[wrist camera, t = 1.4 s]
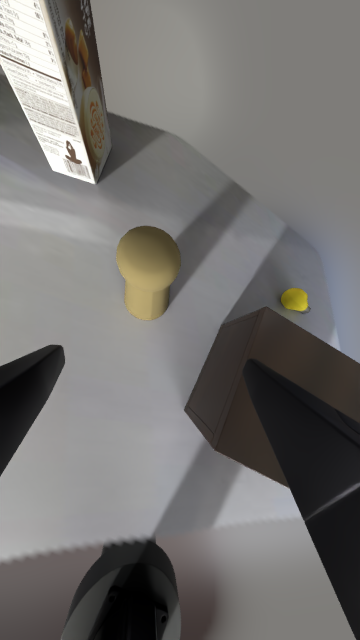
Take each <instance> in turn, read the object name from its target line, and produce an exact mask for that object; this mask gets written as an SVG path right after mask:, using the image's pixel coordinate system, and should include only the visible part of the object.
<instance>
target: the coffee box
mask: <svg viewBox="0 0 360 640" xmlns="http://www.w3.org/2000/svg"><path fill="white" fill-rule="evenodd" d="M0 64H1V66H2V68H3V70H4V72H5V74H6V76H7V78H8V80H9V82H10V84H11V86H12V88H13V90H14V92H15V94H16V96H17V98H18V100H19V102H20V104H21V106H22V109H23V111H24V113H25V115H26V117H27V119H28V121H29V123H30V125H31V127H32V129H33V131H34V133H35V135H36V137H37V139H38V141H39V143H40V145H41V147H42V149H43V151H44V153H45V155H46V157H47V160H48V162H49V164H50V166H51V168H52V169H53V170H54V171H56V172H59V173H62V174H65V175H68V176H71V177H74V178H77V179H80V180H83V181H87V182H90V183H93V184H96V183H97V181H98V179H99V177H100V174H101V172H102V169H103V167H104V165H105V162H106V160H107V157H108V155H109V152H110V150H111V148H112V142H111V136H110V129H109V122H108V116H107V109H106V103H105V96H104V90H103V83H102V77H101V70H100V64H99V57H98V50H97V44H96V38H95V31H94V25H93V17H92V11H91V5H90V0H0Z"/></svg>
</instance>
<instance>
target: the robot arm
mask: <svg viewBox="0 0 360 640" xmlns="http://www.w3.org/2000/svg"><path fill="white" fill-rule="evenodd" d="M64 364H65V356H64V350H63V347H62V346H61V345H48V346H46V347H44V348H41V349H39V350H37V351H35V352H32V353H30V354H28V355H25V356H23V357H21V358H19V359H16V360H14V361H12V362H9V363H7V364H5V365H2V366H0V476H1V474H2V473H3V471H4V470H5V468H6V466H7V465H8V463H9V461H10V460H11V458H12V457H13V455H14V453H15V452H16V450H17V448H18V447H19V445H20V444H21V442H22V440H23V439H24V437H25V435H26V434H27V432H28V431H29V429H30V427H31V426H32V424H33V423H34V421H35V419H36V418H37V416H38V414H39V413H40V411H41V410H42V408H43V406H44V405H45V403H46V401H47V400H48V398H49V396H50V394H51V392H52V390H53V388H54V385H55V383H56V381H57V379H58V377H59V375H60V373H61V371H62V369H63V367H64ZM242 375H243V378H244V381H245V384H246V387H247V390H248V393H249V396H250V399H251V401H252V404H253V406H254V408H255V411H256V413H257V415H258V418H259V420H260V422H261V424H262V427H263V429H264V431H265V433H266V436H267V438H268V440H269V443H270V445H271V447H272V449H273V452H274V454H275V456H276V458H277V461H278V463H279V465H280V468H281V470H282V472H283V474H284V477H285V479H286V481H287V483H288V486H289V488H290V490H291V493H292V495H293V497H294V499H295V502H296V504H297V506H298V508H299V511H300V513H301V515H302V518H303V520H304V521H305V525H306V527H307V529H308V531H309V534H310V536H311V538H312V541H313V543H314V545H315V548H316V550H317V552H318V554H319V557H320V558H321V561H322V563H323V566H324V568H325V570H326V573H327V575H328V577H329V579H330V581H331V584H332V586H333V588H334V591H335V593H336V595H337V598H338V600H339V602H340V604H341V607H342V609H343V611H344V614H345V616H346V618H347V620H348V623H349V625H350V627H351V629H352V631H353V634H354V636H355V638H356V640H360V423H359V422H357V421H355V420H354V419H352V418H350V417H349V416H347V415H345V414H344V413H342V412H341V411H339V410H337V409H336V408H333V407H332V406H331V405H329V404H328V403H326V402H324V401H323V400H321V399H320V398H318V397H316V396H315V395H313V394H312V393H310V392H308V391H307V390H305V389H303V388H302V387H300V386H299V385H297V384H295V383H294V382H292V381H291V380H289V379H287V378H286V377H284V376H283V375H281V374H279V373H278V372H276V371H274V370H273V369H271V368H270V367H268V366H266V365H265V364H263V363H262V362H260V361H258V360H257V359H251V358H249V359H247V361H246V363H245V365H244V367H243V369H242ZM112 595H114V596H112ZM163 615H164V616H163ZM168 619H169V614H168V608H167V606H165V605H162V604H160V603H158V602H155V601H153V600H150V599H148V598H145V597H143V596H140V595H138V594H135V593H133V592H130V591H128V590H125V589H123V588H120V587H118V586H112V587H111V588H110V589H109V591H108V593H107V595H106V597H105V600H104V602H103V604H102V607H101V609H100V611H99V613H98V616H97V618H96V620H95V623H94V625H93V627H92V630H91V632H90V634H89V636H88V639H87V640H162V638H163V635H164V632H165V629H166V626H167V623H168Z"/></svg>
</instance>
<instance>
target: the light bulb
mask: <svg viewBox="0 0 360 640" xmlns="http://www.w3.org/2000/svg"><path fill="white" fill-rule="evenodd" d="M307 298H308V295H307V294H306V293H305V292H304V291H303V290H302V289H300V288H291V289H289V290H287V291H285V292H284V293H283V294H282V297H281V303H282V304H283V305H284V307H285V308H287V309H292V310H297V311H300V312H301V313H303V314H306V313H308V312H309V311H310V309H311V308H310V307H309V306H308V303H307Z"/></svg>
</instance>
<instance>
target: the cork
mask: <svg viewBox="0 0 360 640" xmlns="http://www.w3.org/2000/svg"><path fill="white" fill-rule="evenodd" d="M116 261H117V264H118V267H119V270H120V273H121V274H122V276H123V277H124V278H125V280H126V282H125V305H126V308H127V309H128V311H129V312H130V313H131V314H132V315H133V316H135V317H136V318H139V319H142V320H153V319H156V318H158V317H160V316H161V315H162V314H163V313H164V312H165V311H166V309H167V307H168V303H169V291H170V284H172V282H173V281H174V280H175V278H176V277H177V275H178V272H179V269H180V266H181V259H180V251H179V249H178V246H177V244H176V243H175V241H174V240H173V239H172V237H171V236H170V235H169V234H167V233H166V232H165V231H163V230H161V229H159V228H156V227H152V226H140V227H136V228H134V229H131V230H129V231H128V232H127V233H126V234H125V235H124V236H123V237H122V238H121V240H120V242H119V244H118V246H117V255H116Z"/></svg>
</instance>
